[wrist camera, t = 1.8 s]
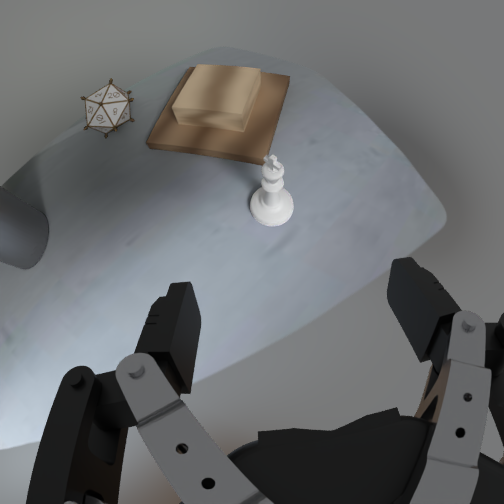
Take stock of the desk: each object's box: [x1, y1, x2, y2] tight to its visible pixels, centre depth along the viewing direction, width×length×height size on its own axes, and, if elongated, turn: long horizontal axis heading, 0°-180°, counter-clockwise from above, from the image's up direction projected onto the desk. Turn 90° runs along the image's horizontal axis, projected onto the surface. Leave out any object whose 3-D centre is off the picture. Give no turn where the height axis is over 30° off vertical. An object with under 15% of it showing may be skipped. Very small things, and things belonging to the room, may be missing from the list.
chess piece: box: [250, 155, 294, 226], centre depth 27 cm, size 5×5×10 cm
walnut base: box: [146, 64, 290, 166], centre depth 34 cm, size 16×16×5 cm
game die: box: [81, 78, 134, 138], centre depth 33 cm, size 9×8×10 cm
